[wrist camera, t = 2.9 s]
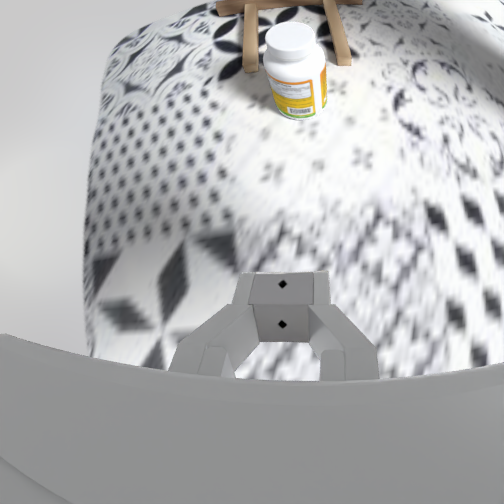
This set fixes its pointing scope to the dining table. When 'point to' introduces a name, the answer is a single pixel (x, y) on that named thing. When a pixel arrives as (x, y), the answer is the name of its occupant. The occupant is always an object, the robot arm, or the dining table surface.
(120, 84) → the dining table surface
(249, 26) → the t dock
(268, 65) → the supplement bottle
